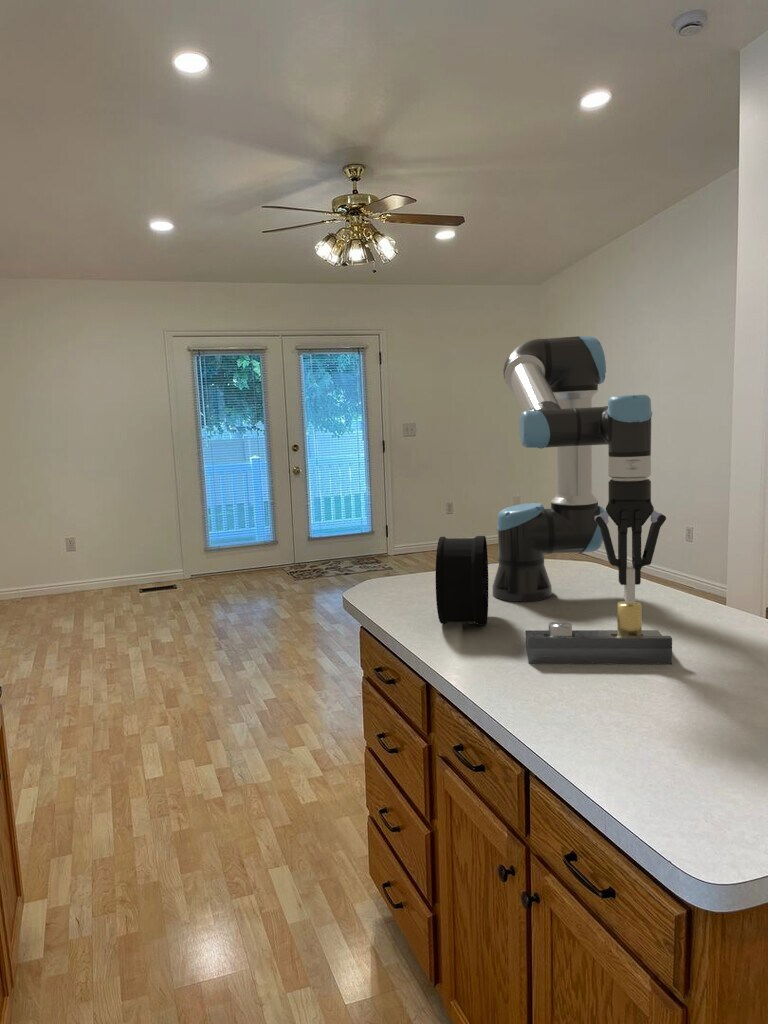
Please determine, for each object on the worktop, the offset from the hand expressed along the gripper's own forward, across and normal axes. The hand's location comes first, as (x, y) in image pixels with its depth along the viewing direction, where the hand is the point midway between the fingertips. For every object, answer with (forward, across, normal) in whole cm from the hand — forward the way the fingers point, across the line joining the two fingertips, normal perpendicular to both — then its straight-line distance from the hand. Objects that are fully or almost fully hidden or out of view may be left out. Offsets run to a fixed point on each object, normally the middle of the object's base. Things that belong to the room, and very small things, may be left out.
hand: (629, 600), depth 135 cm
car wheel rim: (+11, -32, +21) cm, 40 cm away
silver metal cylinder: (+11, -13, 0) cm, 17 cm away
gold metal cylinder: (+11, 0, 0) cm, 11 cm away
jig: (+11, -6, 0) cm, 12 cm away
